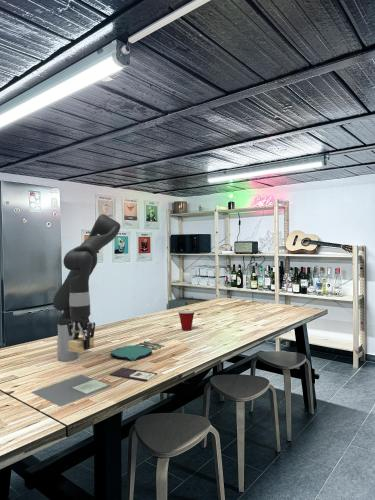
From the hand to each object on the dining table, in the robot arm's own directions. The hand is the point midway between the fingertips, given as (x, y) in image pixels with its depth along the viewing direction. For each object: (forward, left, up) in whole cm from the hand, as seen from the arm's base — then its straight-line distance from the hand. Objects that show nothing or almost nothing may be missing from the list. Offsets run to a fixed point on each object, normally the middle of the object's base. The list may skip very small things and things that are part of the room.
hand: (81, 348), depth 137 cm
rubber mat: (-2, -3, -16) cm, 16 cm away
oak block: (0, 0, 0) cm, 0 cm away
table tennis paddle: (-18, +46, -17) cm, 52 cm away
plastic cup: (-26, +96, -16) cm, 101 cm away
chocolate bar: (+4, +22, -17) cm, 28 cm away
